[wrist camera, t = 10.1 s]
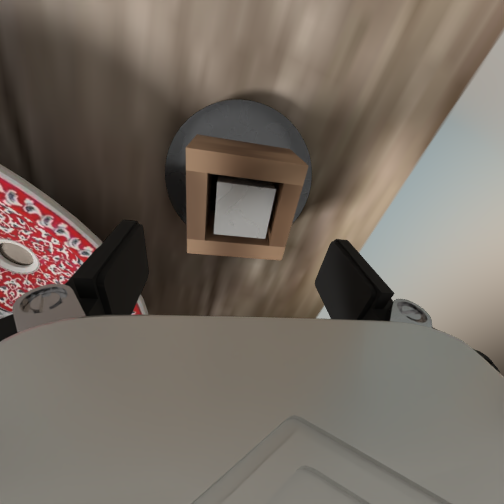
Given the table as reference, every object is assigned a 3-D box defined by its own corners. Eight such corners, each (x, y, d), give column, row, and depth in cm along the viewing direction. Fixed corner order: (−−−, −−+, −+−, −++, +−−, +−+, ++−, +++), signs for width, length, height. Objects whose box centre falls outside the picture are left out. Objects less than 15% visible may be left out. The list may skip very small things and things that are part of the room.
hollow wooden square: (290, 149, 17) (308, 165, 13) (271, 228, 21) (281, 260, 17) (196, 134, 16) (185, 147, 12) (195, 220, 20) (186, 253, 16)
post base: (288, 243, 24) (304, 285, 19) (172, 233, 22) (154, 276, 17) (325, 114, 17) (368, 123, 12) (164, 84, 15) (130, 78, 10)
